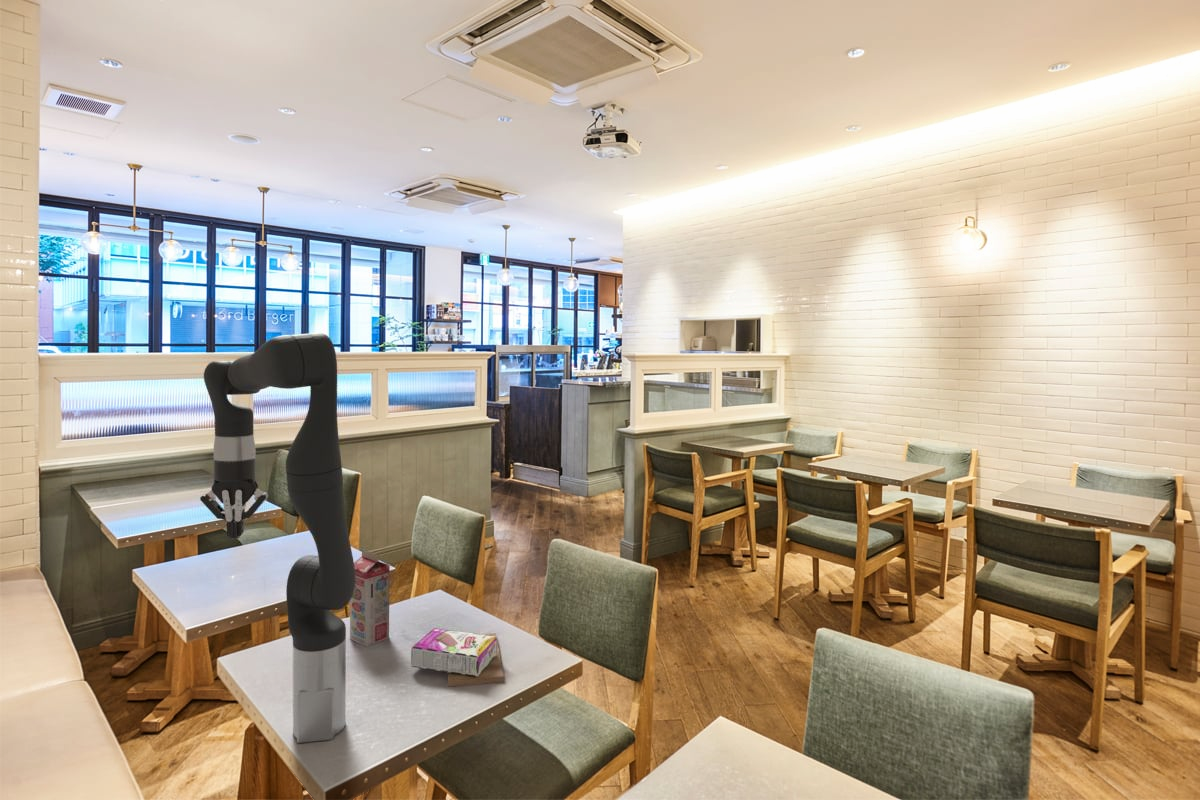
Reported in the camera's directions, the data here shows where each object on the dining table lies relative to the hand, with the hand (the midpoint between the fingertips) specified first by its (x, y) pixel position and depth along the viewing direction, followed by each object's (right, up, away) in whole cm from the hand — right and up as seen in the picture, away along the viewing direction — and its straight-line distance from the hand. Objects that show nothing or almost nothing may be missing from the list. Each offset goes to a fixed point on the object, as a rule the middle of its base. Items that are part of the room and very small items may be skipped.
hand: (235, 537), depth 135 cm
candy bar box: (+35, -29, +15) cm, 48 cm away
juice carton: (+19, -31, +26) cm, 45 cm away
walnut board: (+47, -33, +16) cm, 59 cm away
